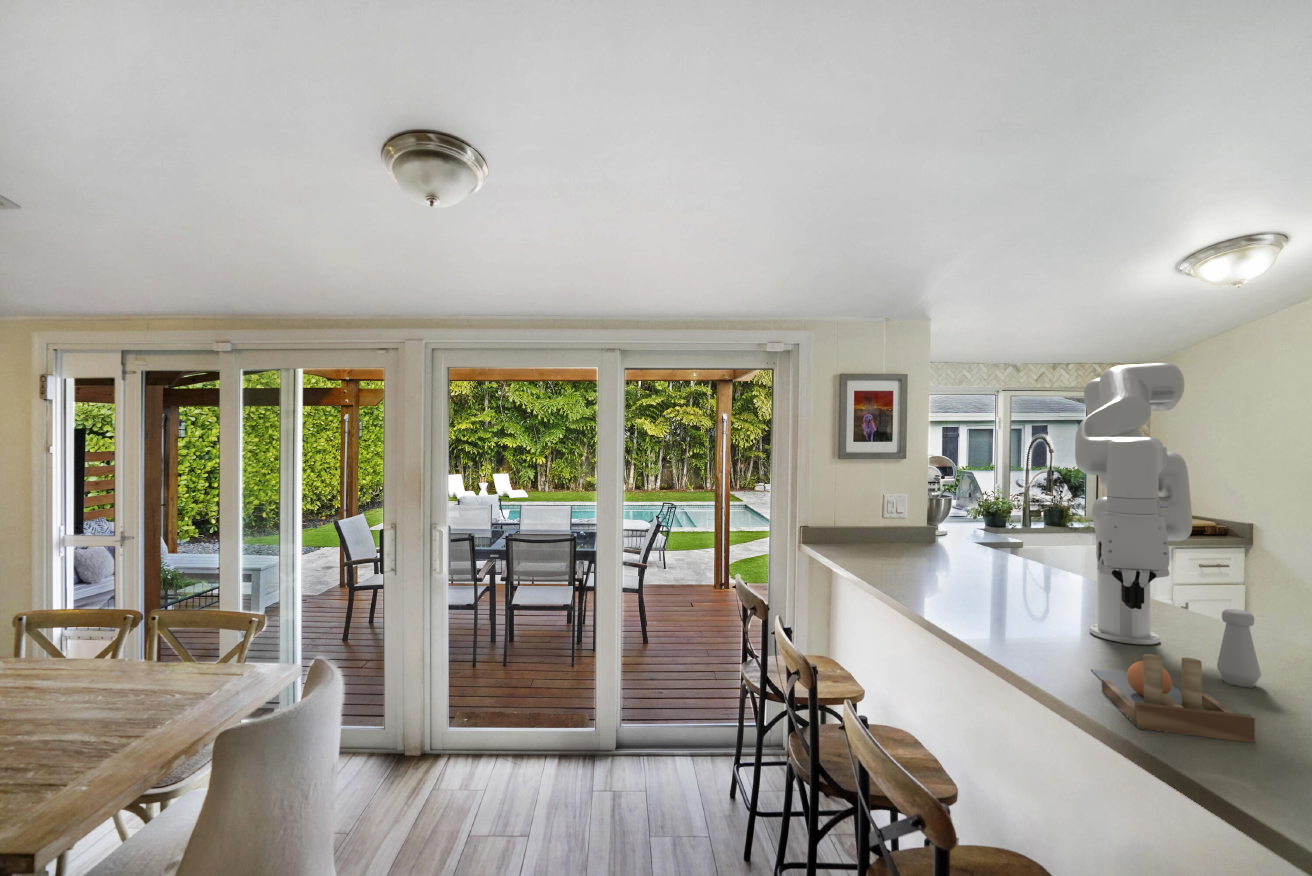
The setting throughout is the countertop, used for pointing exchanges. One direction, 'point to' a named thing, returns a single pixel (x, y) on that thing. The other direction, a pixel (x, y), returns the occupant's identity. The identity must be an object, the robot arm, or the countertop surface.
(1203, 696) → the lane rail
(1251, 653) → the salt shaker
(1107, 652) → the countertop surface
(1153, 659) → the pin back right
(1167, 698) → the pin front
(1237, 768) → the countertop surface
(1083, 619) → the countertop surface
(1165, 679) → the ball
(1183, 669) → the pin back left
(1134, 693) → the plate
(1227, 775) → the countertop surface
